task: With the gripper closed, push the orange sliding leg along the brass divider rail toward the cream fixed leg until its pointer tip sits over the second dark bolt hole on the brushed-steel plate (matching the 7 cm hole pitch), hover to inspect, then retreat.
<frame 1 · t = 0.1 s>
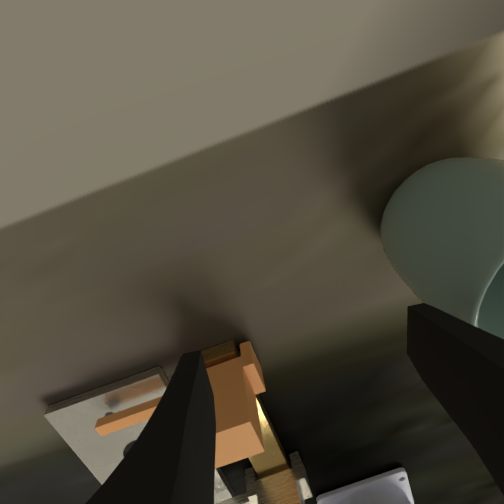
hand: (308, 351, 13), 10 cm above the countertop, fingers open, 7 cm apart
divider rail: (251, 418, 27), on the countertop
cup: (422, 211, 22), on the countertop
slider leg: (176, 418, 22), point 3 cm above the countertop, slide at 4.5 cm
bolt plate: (151, 453, 28), on the countertop
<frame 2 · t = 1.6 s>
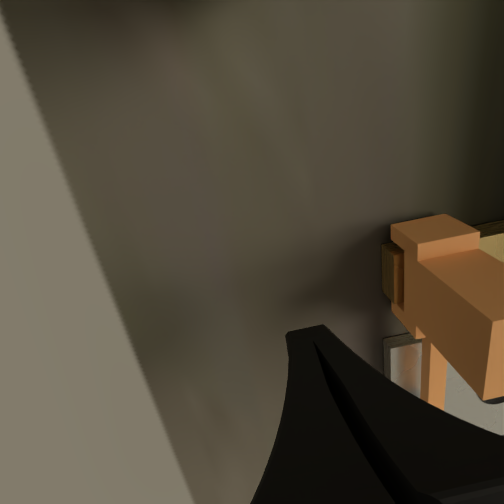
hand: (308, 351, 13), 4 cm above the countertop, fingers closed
slider leg: (455, 366, 15), point 3 cm above the countertop, slide at 4.5 cm
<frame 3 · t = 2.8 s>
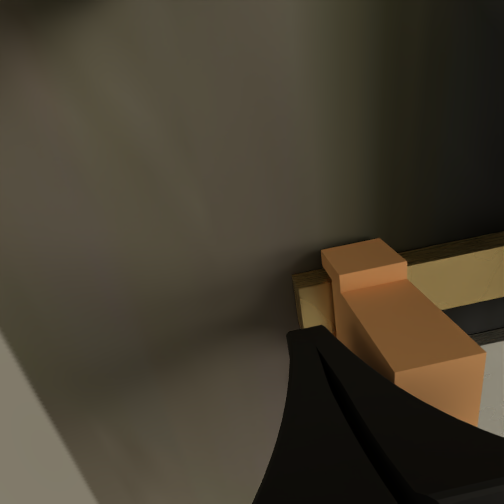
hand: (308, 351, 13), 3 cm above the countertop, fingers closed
divider rail: (458, 265, 16), on the countertop
slider leg: (387, 403, 14), point 3 cm above the countertop, slide at 3.6 cm, touching gripper
bolt plate: (448, 400, 19), on the countertop
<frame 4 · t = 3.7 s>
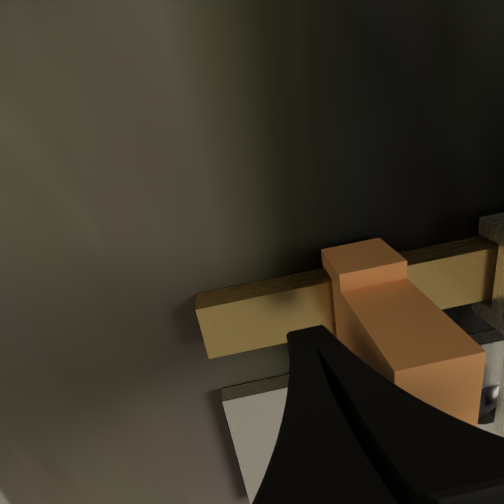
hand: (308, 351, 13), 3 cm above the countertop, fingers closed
divider rail: (368, 283, 16), on the countertop
slider leg: (387, 402, 14), point 3 cm above the countertop, slide at -0.5 cm, touching gripper
bolt plate: (374, 416, 19), on the countertop
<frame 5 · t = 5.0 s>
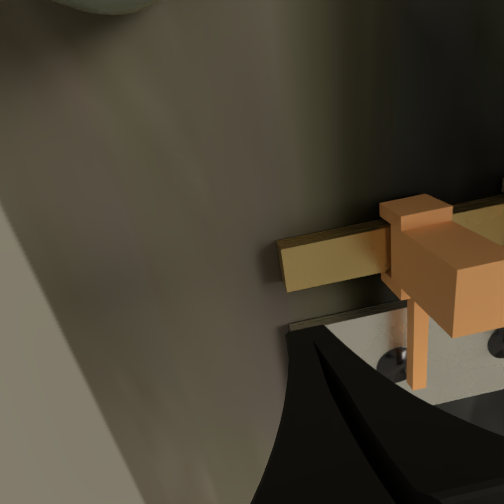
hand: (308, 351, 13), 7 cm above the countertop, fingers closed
divider rail: (412, 233, 20), on the countertop
slider leg: (434, 322, 18), point 3 cm above the countertop, slide at -0.5 cm
bolt plate: (410, 352, 23), on the countertop
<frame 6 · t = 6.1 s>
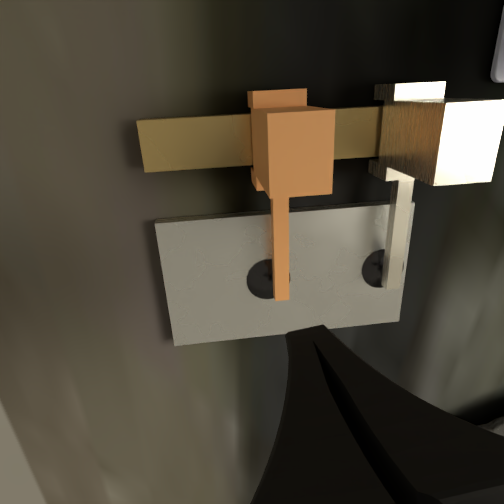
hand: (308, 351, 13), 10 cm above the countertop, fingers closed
divider rail: (285, 135, 19), on the countertop
slider leg: (285, 214, 17), point 3 cm above the countertop, slide at -0.5 cm
bolt plate: (286, 271, 23), on the countertop
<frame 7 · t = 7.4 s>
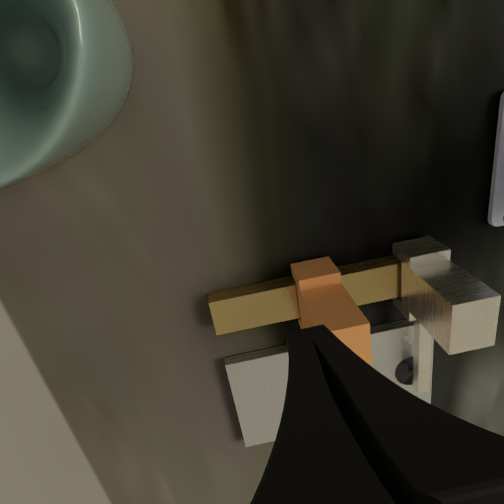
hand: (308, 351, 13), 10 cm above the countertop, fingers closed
divider rail: (322, 286, 24), on the countertop
cup: (62, 59, 17), on the countertop
slider leg: (331, 361, 22), point 3 cm above the countertop, slide at -0.5 cm
bolt plate: (331, 379, 27), on the countertop
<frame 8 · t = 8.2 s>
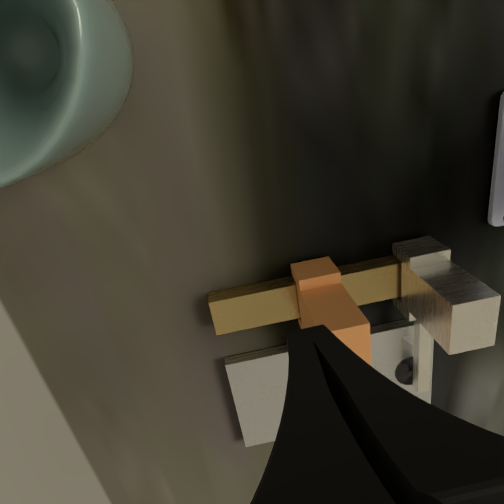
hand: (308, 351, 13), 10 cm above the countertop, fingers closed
divider rail: (322, 286, 24), on the countertop
cup: (62, 59, 17), on the countertop
slider leg: (331, 361, 22), point 3 cm above the countertop, slide at -0.5 cm
bolt plate: (331, 379, 27), on the countertop
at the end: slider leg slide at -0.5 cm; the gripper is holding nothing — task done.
